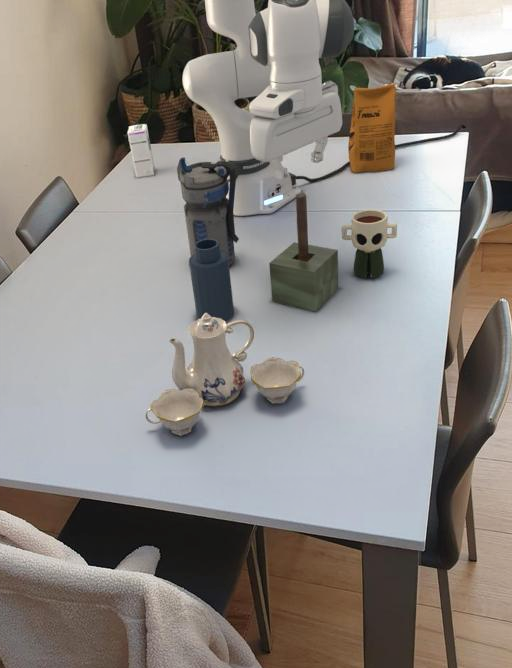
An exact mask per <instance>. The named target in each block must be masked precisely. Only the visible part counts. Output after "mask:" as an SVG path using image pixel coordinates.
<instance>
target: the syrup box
mask: <svg viewBox="0 0 512 668" xmlns="http://www.w3.org/2000/svg"><path fill="white" fill-rule="evenodd" d="M126 132H127V137H128V142H129V143H128V144H129V148H130V154H131V158H132V163H133V167H134V168H133V169H134V173H135V177H136V178H145V177H151V176H155V169H156V168H155V162H154V157H153V150H152V145H151V140H150V135H149V130H148V125H147V123H139V124H134V125H130V126H128V129H127V131H126Z"/></svg>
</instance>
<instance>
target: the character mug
mask: <svg viewBox="0 0 512 668" xmlns="http://www.w3.org/2000/svg"><path fill="white" fill-rule="evenodd" d="M350 219H351V220H350V224H345V225H342V226H341V239H342V240H344V241H351V243H352V245H353V247H354V248H355V249H356V250H355V255H354V261H353V269H352V270H353V273H354V275H356V276H357V277H360V278H364V279H365V278H367V275H368V274H370V278H375V277H376V278H377V277H379V276H380V275H382V274H383V273H384V270H385V264H384V256H383V249H382V248H383V247H385V246H386V243H387V241H388V239H395V238H397V235H398V224H397V223H395V222H388V220H389V219H388V214H387V213H386V212H385V211H383V210H380V209H372V208H371V209H370V208H369V209H363V210H362V209H361V210H359V211H356V212H355V213H353V214H352V216H351V218H350ZM388 229H391V233H388ZM348 230H350V235H348V233H347V232H348Z"/></svg>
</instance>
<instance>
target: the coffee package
mask: <svg viewBox="0 0 512 668" xmlns="http://www.w3.org/2000/svg"><path fill="white" fill-rule="evenodd" d="M396 92H397V87H396V83H389V84H386V85H383V86H379V87H376V88H371V87H370V88H367V87H354V90H353V104H352V109H351V119H350V130H349V134H348V149H347V151H348V160H349V161H350V165H349V166H350V167H349V169H350V171H351V172H352V173H354V174H359V173H364V172H372V173H378V172H383V171H387V170H393V169H394V167H395V162H396V148H395V145H396V142H395V141H396V140H395V135H396V132H395V131H396V102H395V97H396ZM349 161H348V162H349Z"/></svg>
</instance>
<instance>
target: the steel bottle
mask: <svg viewBox="0 0 512 668" xmlns="http://www.w3.org/2000/svg"><path fill="white" fill-rule="evenodd" d="M194 250H195V254H193V255H192V256H191V255H190V257H189V258H188V265H189V272H190V279H191V284H192V285H191V286H192V293H193V300H194V306H195V314H196V318H197V320H198V319H201V318H202V316H203V315H204V313H208V314H209V315H210V316H211V317H216V318H221V319H222V320H224V321H225V322H226V323H227V322H229V320H231V319H232V318H233V317H234V315H235V308H234V299H233V297H234V296H233V289H232V281H231V280H232V279H231V272H230V266H229V261H228V255H227V253H226V252H224V251H222V250H220V246H219V242H218V240H215V239H203V240H200V241H198V242H196V243H195V245H194Z"/></svg>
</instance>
